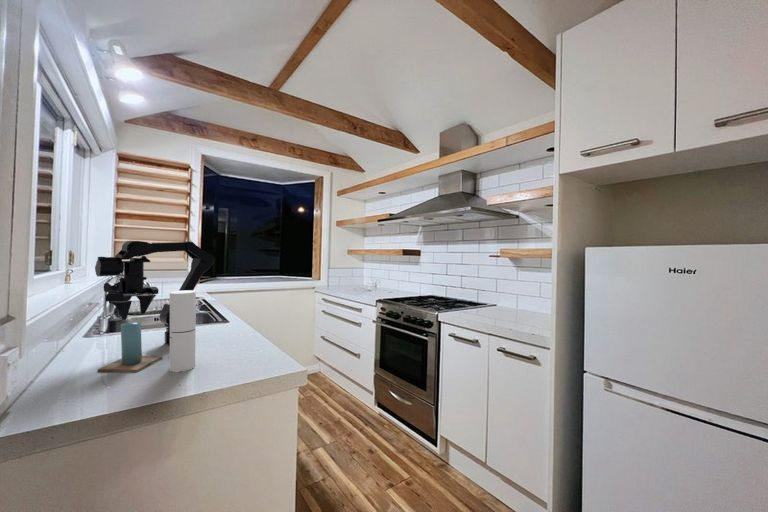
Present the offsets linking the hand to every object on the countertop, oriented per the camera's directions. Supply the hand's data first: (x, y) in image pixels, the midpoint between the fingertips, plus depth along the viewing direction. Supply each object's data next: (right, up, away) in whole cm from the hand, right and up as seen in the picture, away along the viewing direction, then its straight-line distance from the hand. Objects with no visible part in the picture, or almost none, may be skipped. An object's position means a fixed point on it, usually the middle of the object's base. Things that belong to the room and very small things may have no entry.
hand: (133, 316), depth 117 cm
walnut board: (+9, -14, -12) cm, 20 cm away
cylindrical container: (+26, -14, -13) cm, 33 cm away
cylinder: (+9, -13, -12) cm, 19 cm away
